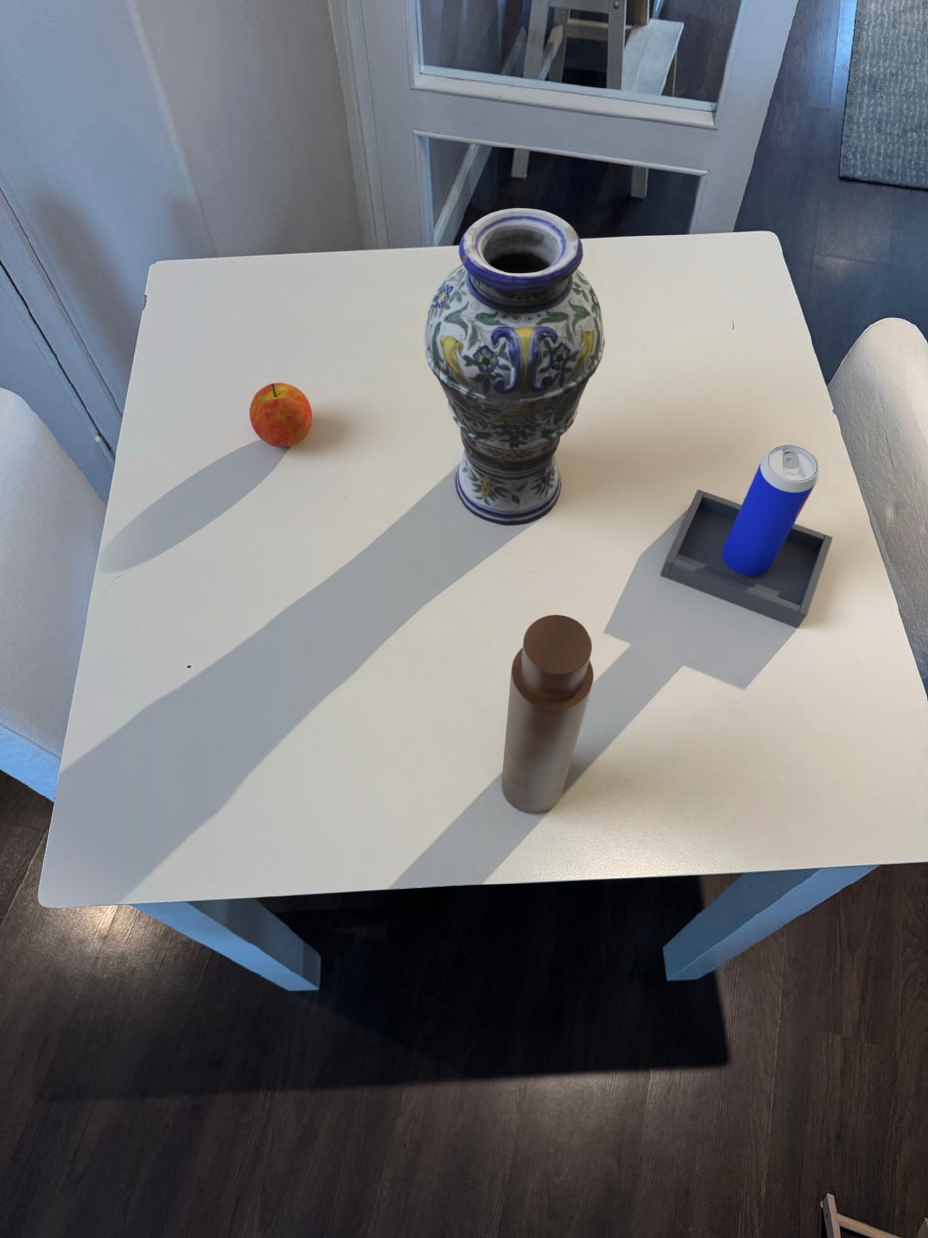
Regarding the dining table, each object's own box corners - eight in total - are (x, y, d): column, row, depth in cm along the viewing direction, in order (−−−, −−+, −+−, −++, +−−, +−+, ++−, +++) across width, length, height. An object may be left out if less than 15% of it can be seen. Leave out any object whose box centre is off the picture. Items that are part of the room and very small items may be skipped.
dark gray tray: (824, 551, 89) (833, 536, 87) (798, 628, 84) (806, 615, 82) (692, 503, 92) (697, 488, 90) (659, 575, 87) (664, 561, 85)
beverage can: (774, 579, 86) (827, 485, 73) (724, 579, 86) (768, 485, 74) (766, 539, 89) (816, 441, 76) (717, 539, 89) (759, 441, 76)
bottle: (572, 770, 76) (614, 626, 54) (548, 824, 74) (581, 696, 52) (517, 745, 78) (535, 594, 55) (491, 797, 75) (499, 661, 53)
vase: (433, 547, 90) (417, 315, 64) (432, 428, 98) (417, 182, 73) (588, 543, 90) (634, 310, 64) (573, 424, 99) (608, 178, 73)
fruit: (321, 453, 97) (309, 402, 90) (261, 464, 96) (245, 414, 89) (311, 410, 100) (300, 358, 93) (253, 421, 99) (237, 369, 92)
